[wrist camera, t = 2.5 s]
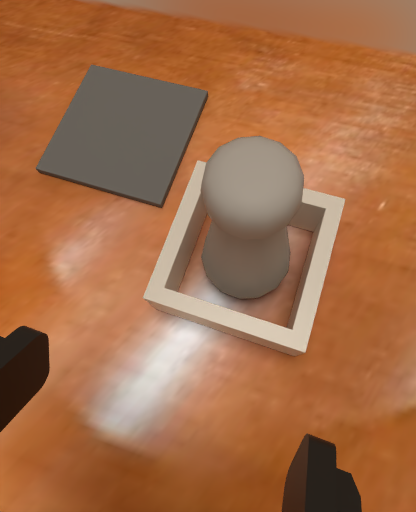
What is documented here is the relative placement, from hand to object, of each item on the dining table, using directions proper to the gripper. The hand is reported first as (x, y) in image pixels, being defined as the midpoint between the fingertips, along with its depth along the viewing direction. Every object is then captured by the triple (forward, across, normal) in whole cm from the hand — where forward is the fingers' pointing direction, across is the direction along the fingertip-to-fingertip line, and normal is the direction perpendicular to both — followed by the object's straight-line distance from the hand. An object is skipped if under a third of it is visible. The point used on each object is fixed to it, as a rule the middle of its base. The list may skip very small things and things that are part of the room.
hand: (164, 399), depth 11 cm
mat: (+22, +13, -2) cm, 26 cm away
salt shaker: (+16, 0, +4) cm, 17 cm away
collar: (+16, 0, +4) cm, 17 cm away
